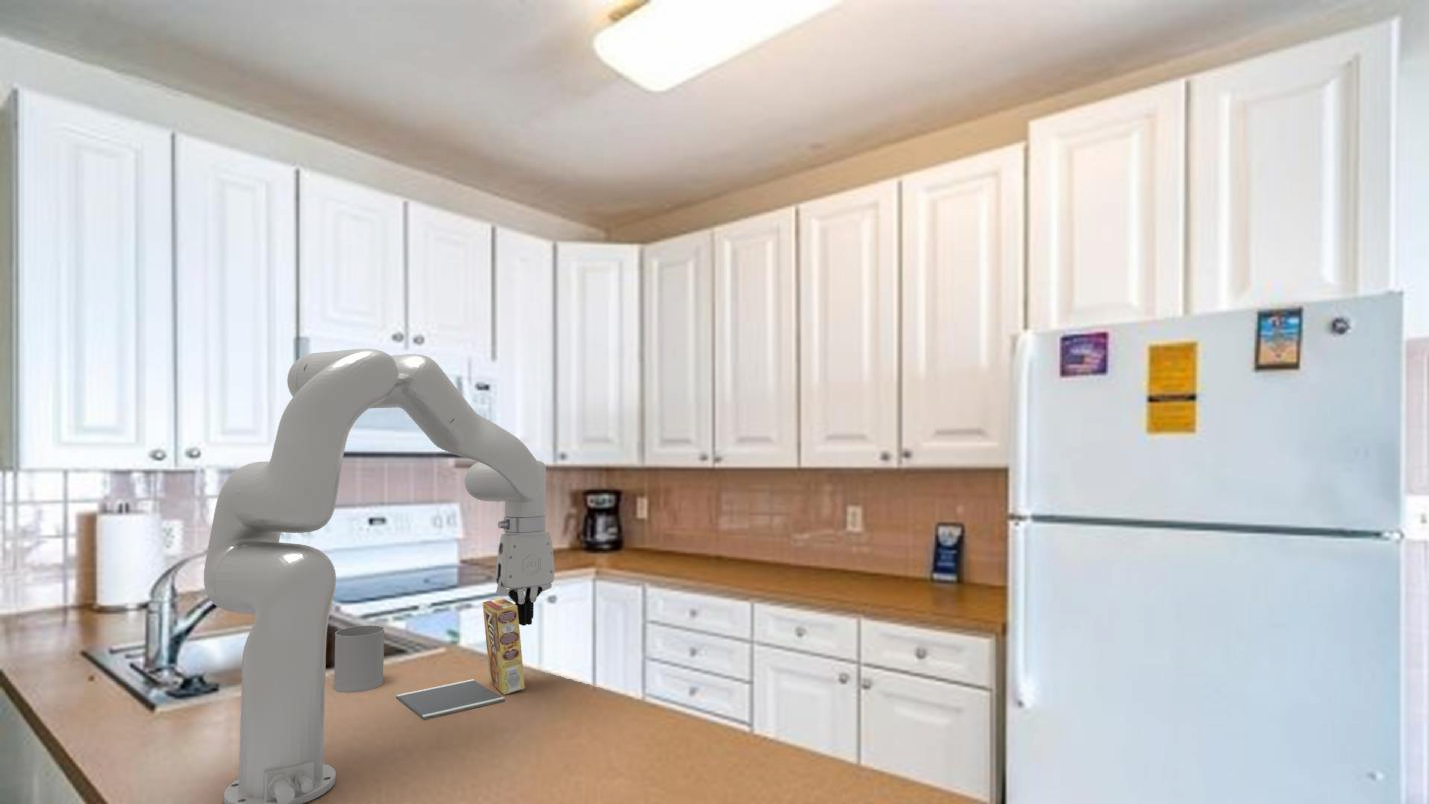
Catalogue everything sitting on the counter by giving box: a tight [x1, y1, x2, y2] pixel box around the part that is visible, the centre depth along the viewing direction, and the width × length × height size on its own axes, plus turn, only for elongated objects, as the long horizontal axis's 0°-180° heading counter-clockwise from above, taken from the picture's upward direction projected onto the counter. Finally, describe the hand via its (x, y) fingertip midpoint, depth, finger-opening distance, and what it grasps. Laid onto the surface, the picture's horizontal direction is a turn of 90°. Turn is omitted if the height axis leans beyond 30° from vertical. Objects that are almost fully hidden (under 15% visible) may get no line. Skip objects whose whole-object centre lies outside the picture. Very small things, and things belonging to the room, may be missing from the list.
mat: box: [395, 678, 506, 720], centre depth 134 cm, size 14×14×1 cm
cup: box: [333, 624, 385, 694], centre depth 142 cm, size 8×8×10 cm
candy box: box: [482, 597, 526, 695], centre depth 140 cm, size 9×4×15 cm, turn 34°
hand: (524, 623), depth 143 cm, fingers closed
